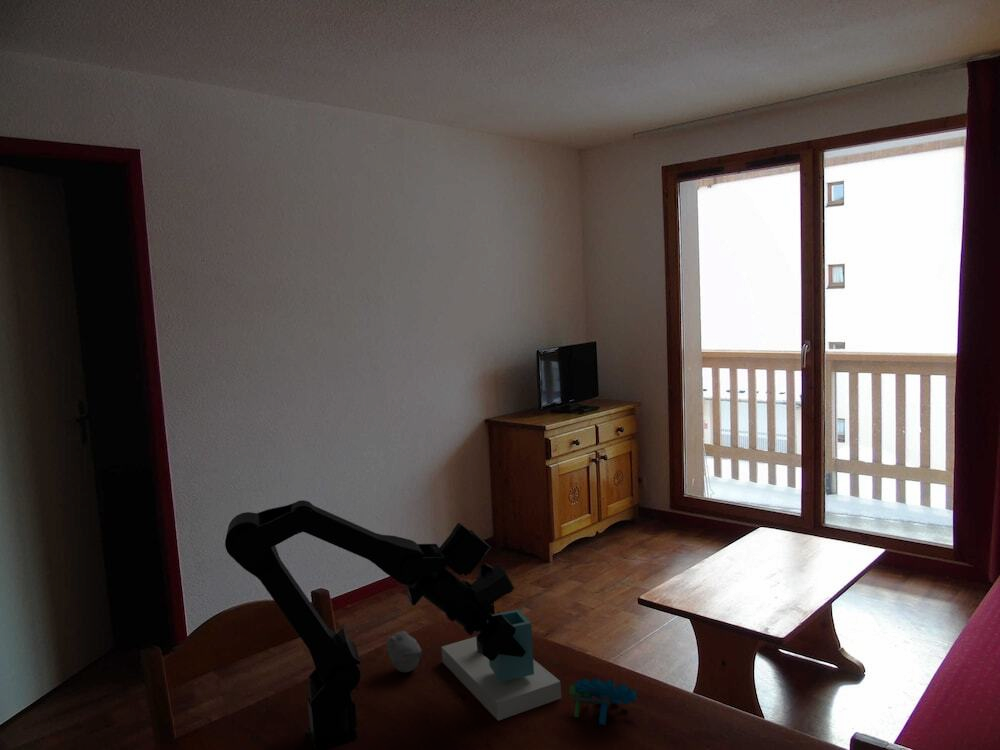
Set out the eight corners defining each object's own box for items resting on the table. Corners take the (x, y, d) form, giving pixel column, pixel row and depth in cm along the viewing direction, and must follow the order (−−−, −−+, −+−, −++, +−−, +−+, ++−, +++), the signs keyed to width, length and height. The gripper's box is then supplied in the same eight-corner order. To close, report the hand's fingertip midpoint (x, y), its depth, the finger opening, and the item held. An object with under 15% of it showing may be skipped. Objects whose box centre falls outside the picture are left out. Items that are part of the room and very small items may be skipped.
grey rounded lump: (403, 658, 137) (401, 623, 137) (430, 667, 133) (427, 632, 132) (380, 672, 133) (377, 636, 132) (407, 682, 128) (404, 645, 128)
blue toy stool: (646, 697, 116) (625, 675, 110) (643, 736, 112) (621, 716, 106) (583, 693, 121) (559, 672, 115) (578, 730, 118) (554, 711, 111)
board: (498, 720, 115) (495, 673, 114) (442, 661, 135) (439, 621, 134) (561, 698, 120) (558, 652, 119) (498, 644, 141) (496, 605, 140)
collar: (500, 682, 119) (497, 629, 118) (489, 665, 124) (486, 615, 123) (534, 674, 120) (531, 623, 120) (521, 658, 126) (519, 609, 125)
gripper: (499, 575, 110) (568, 630, 115) (467, 540, 128) (527, 589, 132) (453, 633, 109) (525, 687, 113) (426, 590, 126) (489, 638, 131)
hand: (517, 646), depth 122 cm, fingers closed on collar, 6 cm apart
